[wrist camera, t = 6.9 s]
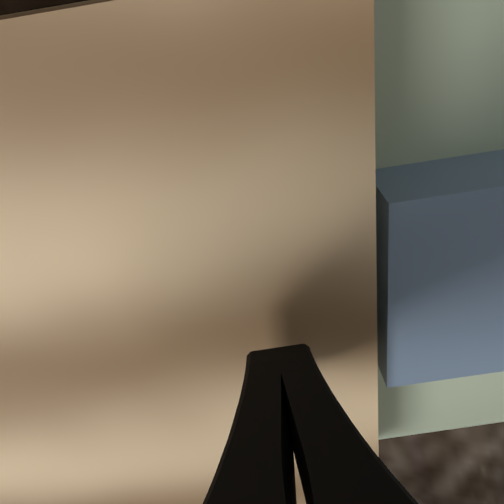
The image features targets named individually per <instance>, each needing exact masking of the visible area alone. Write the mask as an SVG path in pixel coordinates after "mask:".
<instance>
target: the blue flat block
mask: <svg viewBox="0 0 504 504" xmlns="http://www.w3.org/2000/svg"><path fill="white" fill-rule="evenodd" d="M376 255H377V351H378V367H379V369H380V372H381V374H382V377H383V379H384V382H385V385H386V387H387V388H390V387H397V386H404V385H411V384H418V383H425V382H432V381H439V380H446V379H453V378H460V377H467V376H474V375H481V374H488V373H495V372H502V371H504V149H503V150H496V151H490V152H483V153H477V154H470V155H464V156H457V157H451V158H444V159H438V160H431V161H425V162H418V163H412V164H406V165H399V166H393V167H386V168H380V169H376Z"/></svg>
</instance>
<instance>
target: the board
mask: <svg viewBox="0 0 504 504" xmlns="http://www.w3.org/2000/svg"><path fill="white" fill-rule="evenodd" d="M303 343H304V344H306V345H307V346H309V347H310V350H311V353H312V355H313V357H314V360H315V362H316V364H317V366H318V368H319V370H320V372H321V373H322V375H323V377H324V379H325V381H326V382H327V384H328V386H329V387H330V389H331V391H332V392H333V394H334V396H335V397H336V399H337V400H338V402H339V403H340V405H341V406H342V408H343V409H344V411H345V412H346V414H347V415H348V417H349V418H350V420H351V421H352V423H353V424H354V425H355V427H356V428H357V430H358V431H359V432H360V434H361V435H362V436H363V438H364V439H365V440H366V442H367V443H368V444H369V446H370V447H371V448H372V450H373V451H374V452H375V453H376V455H377V456H378V457H379V448H378V351H377V255H376V158H375V62H374V0H88V1H82V2H76V3H70V4H64V5H59V6H53V7H47V8H41V9H36V10H30V11H24V12H18V13H12V14H7V15H1V16H0V504H203V502H204V499H205V497H206V495H207V492H208V490H209V487H210V485H211V483H212V480H213V478H214V475H215V473H216V470H217V467H218V464H219V461H220V459H221V456H222V453H223V450H224V448H225V445H226V442H227V439H228V436H229V433H230V430H231V426H232V423H233V420H234V416H235V413H236V409H237V406H238V402H239V398H240V394H241V390H242V385H243V380H244V375H245V368H246V358H247V355H248V354H249V353H250V352H251V351H257V350H263V349H270V348H277V347H283V346H290V345H297V344H303ZM294 467H295V484H296V500H297V504H306V501H305V496H304V492H303V488H302V484H301V480H300V476H299V472H298V468H297V464H296V460H295V455H294Z"/></svg>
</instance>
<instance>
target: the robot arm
mask: <svg viewBox="0 0 504 504" xmlns="http://www.w3.org/2000/svg"><path fill="white" fill-rule="evenodd" d="M294 455H295V460H296V464H297V468H298V472H299V476H300V480H301V484H302V488H303V492H304V496H305V501H306V504H418V503H417V502H416V500H415V499H414V498H413V497H412V496H411V495H410V494H409V493H408V492H407V490H406V489H405V488H404V487H403V486H402V485H401V484H400V482H399V481H398V480H397V479H396V478H395V477H394V476H393V474H392V473H391V472H390V471H389V470H388V468H387V467H386V466H385V465H384V463H383V462H382V461H381V460H380V458H379V457H378V456H377V455H376V453H375V452H374V451H373V450H372V448H371V447H370V446H369V444H368V443H367V442H366V440H365V439H364V438H363V436H362V435H361V434H360V432H359V431H358V430H357V428H356V427H355V425H354V424H353V423H352V421H351V420H350V418H349V417H348V415H347V414H346V412H345V411H344V409H343V408H342V406H341V405H340V403H339V402H338V400H337V399H336V397H335V396H334V394H333V392H332V391H331V389H330V387H329V386H328V384H327V382H326V381H325V379H324V377H323V375H322V373H321V372H320V370H319V368H318V366H317V364H316V362H315V360H314V357H313V355H312V353H311V350H310V347H309V346H307V345H306V344H304V343H303V344H297V345H290V346H283V347H277V348H270V349H263V350H257V351H251V352H250V353H249V354H248V355H247V358H246V368H245V375H244V380H243V385H242V390H241V394H240V398H239V402H238V406H237V409H236V413H235V416H234V420H233V423H232V426H231V430H230V433H229V436H228V439H227V442H226V445H225V448H224V450H223V453H222V456H221V459H220V461H219V464H218V467H217V470H216V473H215V475H214V478H213V480H212V483H211V485H210V487H209V490H208V492H207V495H206V497H205V499H204V502H203V504H297V500H296V484H295V467H294Z"/></svg>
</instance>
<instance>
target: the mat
mask: <svg viewBox="0 0 504 504" xmlns="http://www.w3.org/2000/svg"><path fill="white" fill-rule="evenodd" d="M374 62H375V158H376V169H380V168H386V167H393V166H399V165H406V164H412V163H418V162H425V161H431V160H438V159H444V158H451V157H457V156H464V155H470V154H477V153H483V152H490V151H496V150H503V149H504V0H374ZM498 422H504V371H502V372H495V373H488V374H481V375H474V376H467V377H460V378H453V379H446V380H439V381H432V382H425V383H418V384H411V385H404V386H397V387H390V388H387V387H386V385H385V382H384V379H383V377H382V374H381V372H380V369H379V367H378V440H379V439H386V438H393V437H400V436H407V435H414V434H421V433H428V432H435V431H442V430H449V429H456V428H463V427H470V426H477V425H484V424H491V423H498Z"/></svg>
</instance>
